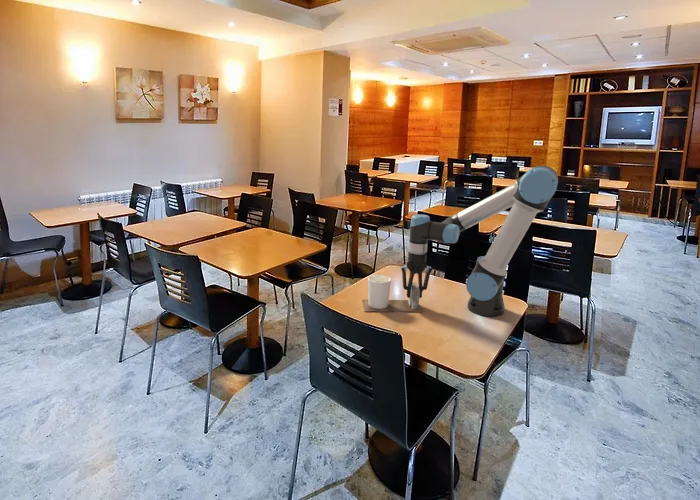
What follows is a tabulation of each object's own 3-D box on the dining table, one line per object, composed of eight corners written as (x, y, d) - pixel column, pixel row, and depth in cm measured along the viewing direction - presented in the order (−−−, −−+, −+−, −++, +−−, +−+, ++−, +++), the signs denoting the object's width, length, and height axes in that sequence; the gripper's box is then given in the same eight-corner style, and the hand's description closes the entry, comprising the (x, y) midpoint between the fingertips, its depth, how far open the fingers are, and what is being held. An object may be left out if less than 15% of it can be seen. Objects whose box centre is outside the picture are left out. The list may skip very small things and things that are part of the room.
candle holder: (388, 311, 183) (389, 283, 180) (364, 308, 185) (366, 281, 182) (390, 302, 192) (392, 276, 189) (368, 299, 194) (369, 273, 191)
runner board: (416, 300, 196) (418, 281, 193) (422, 312, 184) (423, 291, 181) (362, 300, 194) (363, 280, 192) (364, 311, 183) (365, 290, 180)
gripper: (434, 249, 187) (429, 301, 193) (397, 249, 186) (394, 300, 193) (438, 254, 180) (433, 308, 186) (400, 254, 179) (396, 307, 185)
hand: (413, 304), depth 189 cm, fingers closed on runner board, 2 cm apart
